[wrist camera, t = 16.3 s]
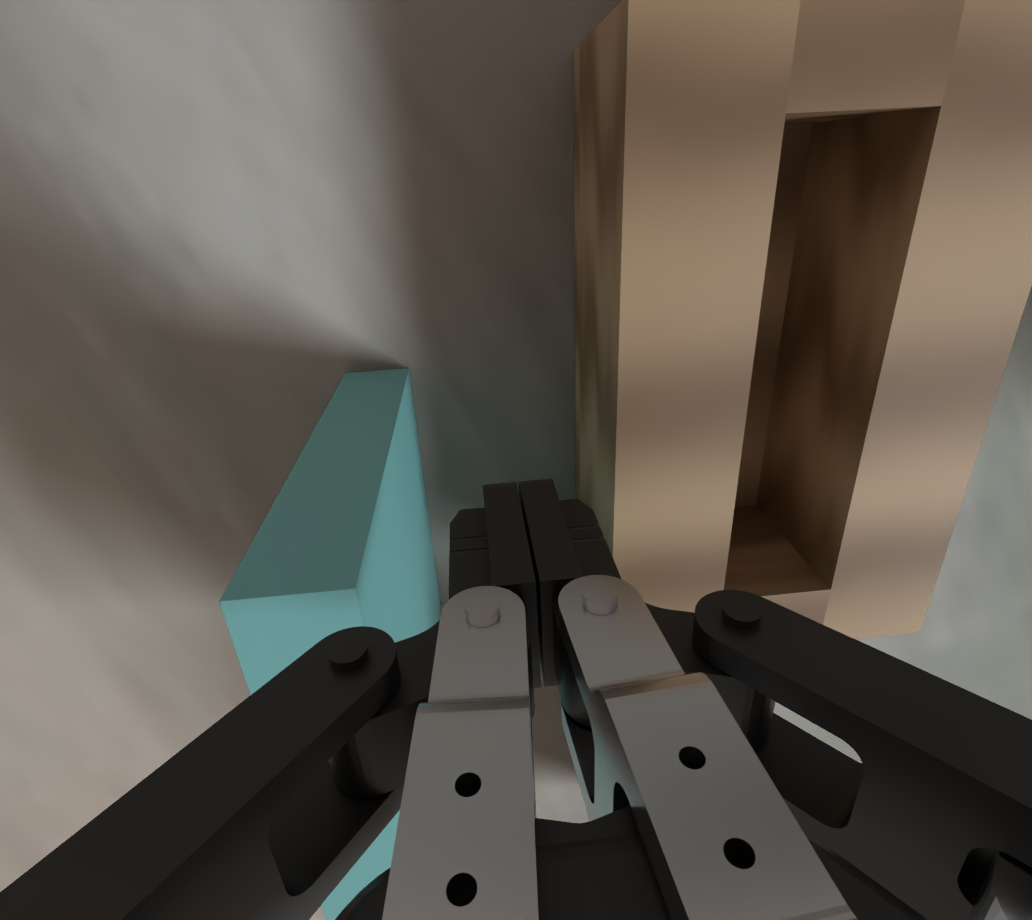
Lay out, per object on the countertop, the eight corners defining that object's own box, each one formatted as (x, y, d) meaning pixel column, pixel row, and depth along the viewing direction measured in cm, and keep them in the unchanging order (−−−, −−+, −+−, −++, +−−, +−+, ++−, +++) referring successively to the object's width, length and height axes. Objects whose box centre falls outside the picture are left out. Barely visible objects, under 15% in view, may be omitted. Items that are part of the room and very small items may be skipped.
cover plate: (345, 372, 24) (219, 601, 11) (409, 367, 24) (355, 588, 11) (388, 611, 29) (336, 949, 16) (440, 606, 29) (428, 938, 16)
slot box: (573, 49, 20) (629, -8, 13) (923, 35, 20) (1132, -26, 14) (576, 555, 28) (609, 664, 22) (820, 532, 29) (920, 632, 23)
